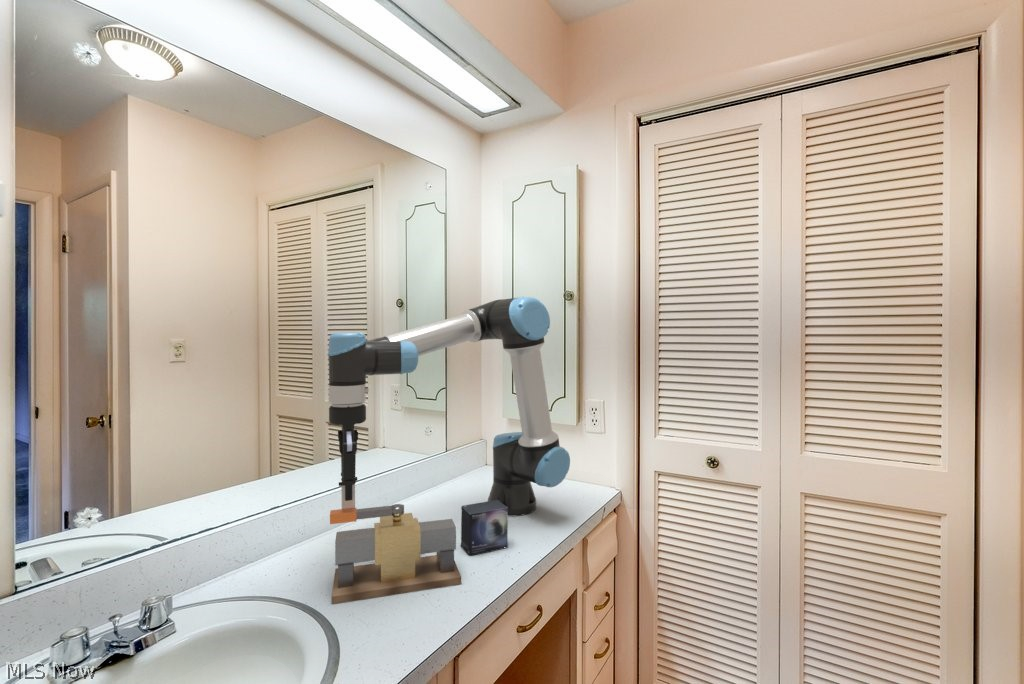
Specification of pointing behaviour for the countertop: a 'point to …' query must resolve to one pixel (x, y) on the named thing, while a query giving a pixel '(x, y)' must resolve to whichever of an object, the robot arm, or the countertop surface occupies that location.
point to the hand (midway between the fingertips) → (348, 513)
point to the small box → (484, 527)
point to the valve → (395, 547)
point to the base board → (371, 586)
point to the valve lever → (364, 513)
